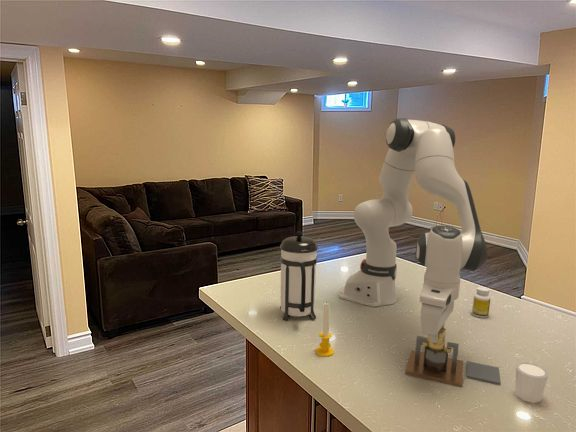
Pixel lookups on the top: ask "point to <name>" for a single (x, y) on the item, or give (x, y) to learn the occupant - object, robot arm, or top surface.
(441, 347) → the cap
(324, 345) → the candle
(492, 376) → the mat
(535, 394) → the white cylinder
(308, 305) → the coffee press
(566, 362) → the top surface
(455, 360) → the drum on wooden base
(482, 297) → the supplement bottle
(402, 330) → the top surface
